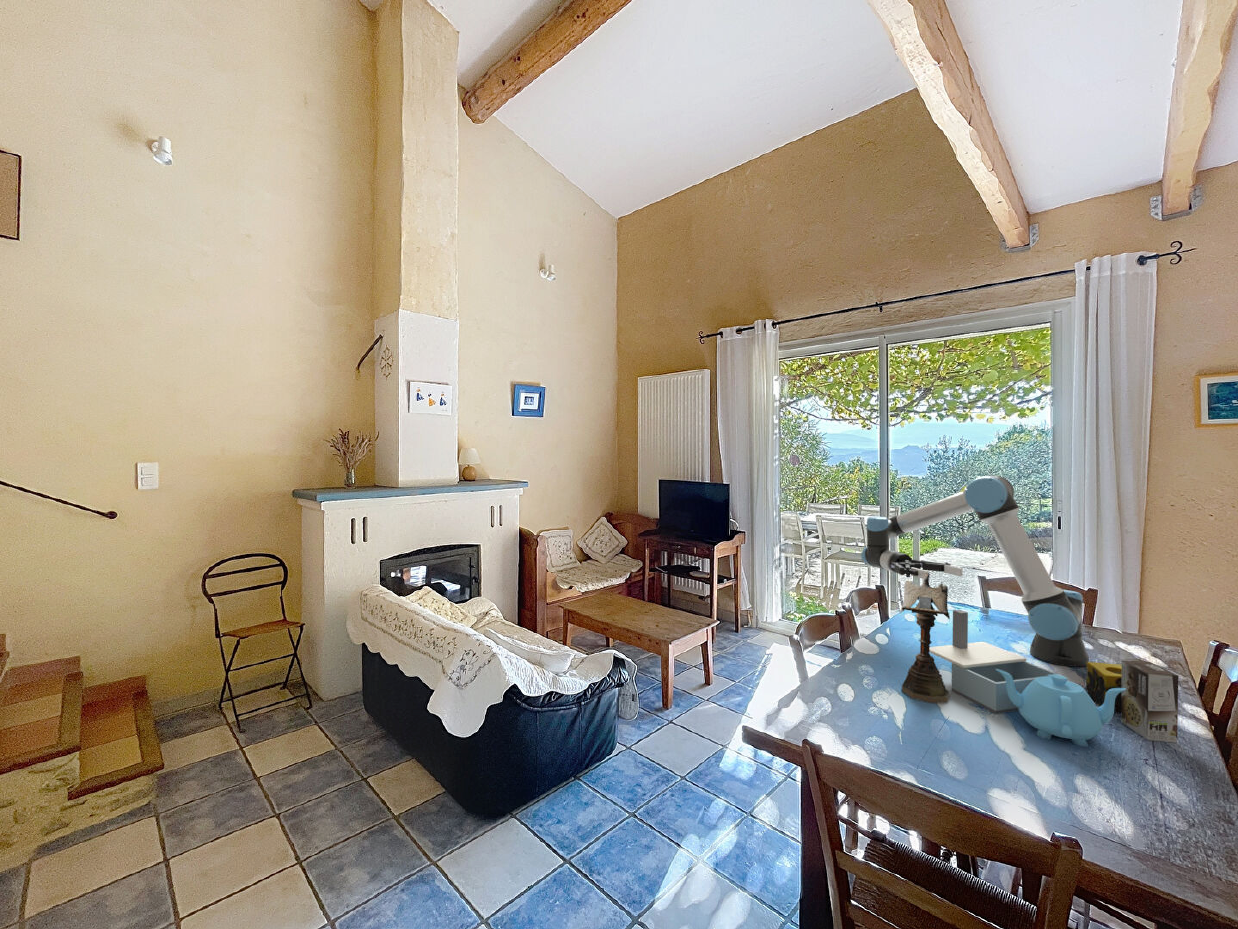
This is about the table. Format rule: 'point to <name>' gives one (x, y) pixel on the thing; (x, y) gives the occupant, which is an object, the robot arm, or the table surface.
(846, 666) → the table surface
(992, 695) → the carton
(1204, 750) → the table surface
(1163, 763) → the table surface
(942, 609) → the bird statue
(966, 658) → the carton lid
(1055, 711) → the teapot
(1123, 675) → the coffee box
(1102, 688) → the candle
